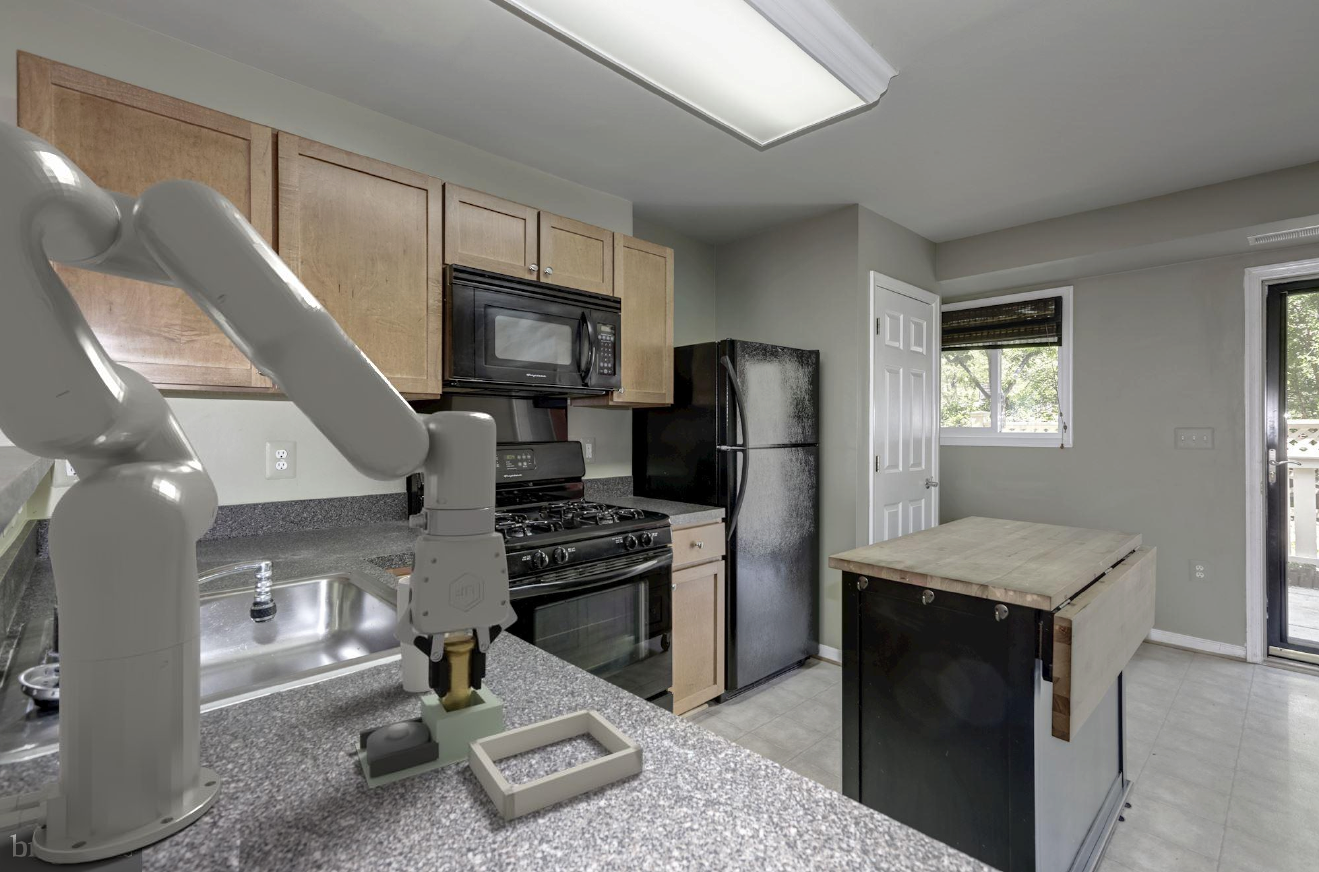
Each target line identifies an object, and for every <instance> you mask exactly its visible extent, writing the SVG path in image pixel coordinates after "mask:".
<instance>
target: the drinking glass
mask: <svg viewBox="0 0 1319 872" xmlns="http://www.w3.org/2000/svg"><path fill="white" fill-rule="evenodd" d="M409 583H410V575H407V576H404V577H401V578H399V579H398V581H397V589H396V590H397V592H396V593H397V594H396V595H397V596H396V601H397V602H396V611H397V623H399V621H400V620H401V618H402V616H403V614H404V612H405V611H406V609H407V607H408V593H409ZM412 631H414V632H417V630H415V628H414V626H413V628H412ZM417 633H419V632H417ZM422 635H423V634H422ZM424 636H425V637H426V636H427V635H424ZM448 636H450V633H445V637H448ZM399 643H400V644H399V646H400V655H401V657H400V658H401V665H402V666H401V668H402V689H403V690H404V691H405V692H408V693H425V692H430V691H434V689H430V687H429V684H428V669H429V657H428V656H427V655H425V654H424V653H423V652H422V651H420V650H419V649H418V648H417V647H415V646H412V645H408V644H406V643H403V642H400V641H399Z"/></svg>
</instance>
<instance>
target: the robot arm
mask: <svg viewBox="0 0 1319 872" xmlns="http://www.w3.org/2000/svg"><path fill="white" fill-rule="evenodd" d="M51 262H53V263H55V264H58V265H59V264H60V265H62V266H63V265H64V266H67V267H70V268H75V269H79V270H84V271H90V272H93V273H99V274H104V275H109V276H114V277H118V278H119V277H120V278H125V279H129V280H135V281H139V282H144V283H150V284H154V285H159V286H163V287H164V286H165V287H169V288H174V289H175V288H176V289H181V290H182V291H183V292H184V293H185V294H186V295H187V296H188V297H189V298H190V299H191V300H192V301H193V302H194V303H195V305H196V306H197V307H198V308H199V309H200V310H201V311H202V312H203V313H204V314H205V315H206V316H207V317H208V318H209V319H210V321H212V323H213V324H214V325H215V326H216V327H217V328H218V329H219V330H220V331H221V332H222V334H223V335H225V337H226V338H227V339H229V341H230V342H231V343H232V344H233V345H234V346H235V347H236V348H237V349H238V350H239V352H240V353H241V354H242V355H243V356H244V357H245V358H246V359H247V360H248V361H249V362H250V363H251V364H252V366H253V367H254V368H255V369H256V370H257V371H259V372H260V373H261V374H262V375H263V376H265V377H266V378H267V379H268V380H270V381H271V383H273V384H274V385H276V386H277V388H278V389H280V391H281V392H282V393H284V394H285V395H286V396H287V398H288V399H289V400H290V401H291V402H292V403H293V404H294V405H295V406H296V407H297V408H298V409H299V411H300V412H301V413H302V414H303V415H304V416H305V417H306V418H307V419H308V420H309V421H310V422H311V423H312V424H313V426H314V427H315V428H317V430H318V431H319V432H320V433H321V434H322V435H323V436H324V437H325V439H327V440H328V442H329V443H331V445H332V446H333V447H334V448H335V449H336V450H337V451H338V452H339V453H340V454H341V456H342V457H344V458H345V460H346V461H347V462H348V463H349V464H350V466H352V467H353V468H354V469H355V470H356V471H357V472H358V473H360V474H361V475H362V476H364V477H366V478H369V479H372V480H373V481H379V482H395V481H399V480H400V481H401V480H403V479H405V478H407V477H409V476H411V475H413V474H418V473H423V476H424V482H423V483H424V484H423V507H422V509H421V511H420V513H417V514H411V515H409V519H408V523H409V528H417V529H420V530H421V532H422V533H423V534H422V535H419V536H417V538H416V540H415V541H416V542H415V546H414V550H413V556H412V562H411V567H410V575H409V576H410V583H409V593H408V607H407V609H406V611H405V612H404V614H403V616H402V618H401V620H400V621H399V623H398V622H397V623H398V624H397V625H396V627H395V629H394V631H393V638H395V640H396V641H398V642H399V643H400V642H403V643H406V644H408V645H412V646H415V647H417V648H418V649H419V650H420V651H422V652H423V653H424V654H425V655H427V656H428V657H429V669H428V684H429V687H430V689H434V690H433V691H434V694H437V695H438V697H439V698H443V697H445V696H446V695H447V660H446V659H445V658H444V653H443V647H444V639H445V633H449V634H451V633H457V632H462V631H469V630H471V631H470V632H471V633H470V635H472V636H474V637H476V647H475V648H474V649H472V684H471V687H472V688H473V689H475V690H480V689H481V684H482V683H483V682H482V679H484V678H486V673H487V672H486V671H487V670H486V669H487V664H486V662H487V652H489V650H490V649H491V645H492V644H493V643H494V642H495V640H496V639H497V638H498V637H499V635H500V634H501V633H502V631H504V630H506V629H507V628H509V627H510V626H512V625H513V624H515V622H517V620H518V615H517V614H516V612H515V610H514V608H513V607H512V605H511V603H510V586H509V582H510V581H509V571H508V561H507V554H506V545H505V541H504V536H503V534H502V533H501V532H498V531H495V526H496V476H497V475H496V473H497V472H496V470H497V469H496V468H497V463H496V462H497V425H496V421H495V419H494V417H493V416H491V415H490V414H488V413H485V412H480V411H465V410H464V411H462V410H461V411H460V410H456V411H455V410H452V411H451V410H450V411H449V410H447V411H446V410H444V411H437V412H433V413H432V414H428V413H417V412H416V410H414V408H413V407H412V406H411V405H410V404H409V402H408V401H407V400H406V399H405V398H404V397H403V396H402V395H401V393H400V392H399V391H398V390H397V389H396V388H395V386H393V384H392V383H391V382H390V381H389V380H388V378H387V377H386V376H385V375H384V374H383V373H382V372H381V371H380V370H379V368H377V366H376V365H375V364H374V363H373V362H372V360H370V358H368V357H367V355H366V354H365V353H364V352H363V351H362V350H361V349H360V347H358V345H357V344H356V343H355V342H354V341H353V340H352V339H351V338H350V337H349V336H348V334H346V332H345V331H344V329H342V327H341V325H339V323H338V322H337V320H335V318H334V317H333V316H332V314H330V313H329V312H328V311H327V309H326V308H325V307H324V306H323V304H321V302H320V301H319V299H317V298H316V297H315V296H314V294H312V293H311V291H310V290H309V289H308V288H307V287H306V286H305V285H304V284H303V282H302V281H301V280H300V279H299V277H298V276H296V274H295V273H294V272H293V271H292V269H290V267H289V266H288V265H287V264H286V263H285V262H284V260H283V259H282V258H281V257H280V256H279V255H278V253H276V251H275V250H274V249H273V248H272V247H271V245H269V243H268V242H267V241H266V240H265V239H264V238H263V237H262V235H261V234H260V233H259V231H257V230H256V229H255V227H254V226H253V225H252V224H251V223H250V222H249V221H248V219H247V218H246V217H245V216H244V215H243V213H241V211H240V210H239V209H238V208H237V206H235V205H234V204H233V203H232V202H230V200H229V199H228V198H226V196H224V195H222V194H221V193H220V192H218V191H217V190H216V189H214V188H212V187H210V186H209V185H206V184H204V183H201V182H198V181H195V180H190V179H185V178H184V179H183V178H182V179H181V178H180V179H179V178H175V179H166V180H161V181H159V182H156V183H154V184H151V185H150V186H149V187H147V188H146V189H145V190H143V191H142V192H141V193H140V195H139V196H134V195H131V194H126V193H123V192H118V191H114V190H112V189H111V190H110V189H108V188H105V187H100V186H98V185H97V184H96V183H95V182H94V181H93V180H92V179H91V178H90V177H89V176H88V175H86V173H85V172H84V171H82V169H80V168H79V167H78V165H76V164H75V162H73V160H71V159H70V158H69V157H68V156H67V155H66V154H64V153H63V152H61V151H60V150H59V149H57V147H55V146H54V145H53V144H52V143H50V142H48V141H47V140H45V139H43V138H41V137H40V136H37V135H36V134H34V133H32V132H30V131H28V130H26V129H25V128H22V127H20V126H17V125H15V124H12V123H9V122H6V121H2V120H0V431H1V432H2V433H3V434H4V436H5V437H6V438H7V439H8V440H9V441H10V442H12V444H14V446H16V447H17V448H18V449H21V450H23V451H24V452H26V453H29V454H31V455H33V456H37V457H40V458H44V459H51V460H61V461H62V460H65V461H67V462H68V464H69V465H70V467H72V468H71V469H73V472H74V473H75V474H76V476H77V478H78V479H79V480H77V481H76V482H75V483H74V484H73V485H71V486H70V487H69V488H68V489H67V490H66V491H65V492H64V494H63V495H62V496H61V497H60V498H59V500H58V502H57V503H56V504H55V506H54V509H53V512H52V513H51V516H50V520H49V524H48V531H47V536H48V538H47V539H48V540H47V542H48V546H47V547H48V551H49V553H48V554H49V559H50V562H51V569H52V574H53V579H54V586H55V590H56V591H55V592H56V600H57V618H58V658H59V660H58V662H59V663H58V665H59V666H58V667H59V668H58V670H59V671H58V672H59V673H58V674H59V675H58V682H59V683H58V684H59V685H58V689H59V690H58V693H59V696H58V706H59V707H58V709H59V711H58V719H59V720H58V723H59V724H58V725H59V726H58V733H59V734H58V735H59V736H58V778H57V780H56V781H53V782H50V783H44V785H43V786H42V788H41V789H38V790H34V791H30V792H26V793H16V794H12V795H8V796H7V795H6V796H3V797H0V834H3V833H6V832H7V833H8V832H10V831H14V830H18V829H21V828H23V827H27V826H31V825H35V824H37V827H36V828H35V830H34V831H33V834H32V841H31V842H32V853H33V854H34V855H35V856H36V858H38V859H41V860H43V861H44V862H48V863H54V864H55V863H56V864H79V863H87V862H94V861H99V860H103V859H108V858H113V857H115V856H116V857H117V856H119V855H123V854H126V853H130V852H132V851H135V850H138V849H140V848H143V847H146V846H149V845H151V844H154V843H156V842H158V841H160V840H162V839H165V838H168V837H169V836H171V835H173V834H175V833H177V832H179V831H180V830H182V829H184V828H185V827H187V826H188V825H190V824H192V823H194V822H195V821H197V819H199V818H201V817H202V816H203V815H204V814H206V813H207V812H208V811H209V809H210V808H212V806H213V805H215V803H216V802H217V800H218V799H219V797H220V795H221V790H222V786H221V785H222V784H221V777H220V775H219V774H218V772H216V771H215V770H213V769H211V768H208V767H204V766H201V597H200V583H199V573H198V564H197V562H198V561H197V542H198V541H199V540H200V539H201V538H203V537H204V536H205V534H207V532H208V531H209V530H210V529H211V527H213V524H214V522H215V520H216V518H217V515H218V511H219V498H218V493H217V492H218V491H217V489H216V487H215V485H214V482H213V480H212V478H211V477H210V475H209V473H208V471H207V469H206V467H205V466H204V463H202V460H201V459H200V457H199V455H198V454H197V452H196V450H195V448H194V446H193V445H192V443H191V441H190V439H189V438H188V436H187V434H186V433H185V431H184V430H183V427H182V425H181V424H180V422H179V420H178V418H177V417H176V415H175V414H174V412H173V410H172V408H171V407H170V405H169V403H168V402H167V400H166V398H165V397H164V395H162V394H161V391H160V390H159V389H158V388H157V387H156V385H154V384H153V383H152V382H151V381H150V380H149V379H147V378H146V377H145V376H144V375H143V374H141V373H139V372H137V371H136V370H134V369H132V368H129V367H127V366H125V365H122V364H120V363H117V362H116V361H114V360H113V359H112V358H111V357H110V355H109V354H108V353H107V351H106V350H105V348H104V347H103V345H102V344H101V342H100V341H99V339H98V338H97V336H96V334H95V333H94V331H93V330H92V328H91V327H90V325H89V323H88V322H87V320H86V317H85V316H84V313H83V312H82V310H81V308H80V306H79V304H78V302H77V301H76V299H75V298H74V295H72V293H71V291H70V290H69V288H68V287H67V286H66V284H65V282H64V281H63V279H62V278H61V277H60V276H59V274H58V273H57V271H56V270H55V269H54V267H53V266H52V264H51ZM413 626H414V628H415V630H417V632H419V633H417V632H414V631H412V628H413ZM422 634H423V635H422ZM424 635H427V636H426V637H425V636H424Z"/></svg>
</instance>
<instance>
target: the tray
mask: <svg viewBox="0 0 1319 872" xmlns="http://www.w3.org/2000/svg"><path fill="white" fill-rule="evenodd" d="M586 733H589V735H591V736H592V737H594V739H596V740H597V741H598V742H599V743H600V744H601V745H603V746H604V747H605V748H606V749H607V750H608V751H609V752H610V753H611V754H608V755H605V756H602V757H600V758H596V759H593V760H590V761H587V762H584V763H581V764H579V765H576V766H573V767H569V768H566V769H563V770H561V771H558V772H555V773H551V774H549V775H546V776H543V777H540V778H538V779H534V780H530V781H528V782H525V783H521V784H518V785H516V786H512V787H511V785H510V784H509V783H508V782H507V780H506V779H505V777H504V776H503V775H502V773H501V772H500V770H499V769H498V768H497V766H496V765H495V764H494V762H495V761H498V760H502V759H504V758H508V757H512V756H514V755H517V754H520V753H524V752H528V751H531V750H534V749H538V748H541V747H544V746H547V745H550V744H553V743H554V744H555V743H557V742H560V741H563V740H567V739H569V738H574V737H576V736H580V735H583V734H586ZM643 753H644V752H643V748H642V747H641V746H640V745H639V744H638V743H636V742H635V741H634V740H633V739H632V738H631V737H629V736H628V735H626V734H625V733H624V732H623V731H622V730H620V729H619V728H618V727H617V726H615V725H614V724H613V723H611V722H610V721H609V720H607V719H606V718H605V717H604V716H603V715H601V714H600V713H599V712H597V711H596V709H594V708H593V707H588V708H586V709H581V710H578V711H575V712H572V713H568V714H564V715H561V716H556V717H554V718H550V719H545V720H543V721H539V722H536V723H535V722H534V723H531V724H529V725H525V726H521V727H517V728H513V729H511V730H507V731H503V733H499V734H496V735H492V736H489V737H485V738H482V739H478V740H474V741H471V742H468V759H467V761H468V762H467V763H468V766H469V768H470V769H471V771H472V772H473V774H474V775H475V777H476V778H477V780H478V782H479V783H480V784H481V787H483V789H484V790H485V793H486V794H487V795H488V797H489V798H490V800H491V801H492V803H493V804H494V806H495V808H496V809H497V810H498V812H499V813H500V816H501V817H502V818H503V820H504V821H505V822H508V821H511V820H515V819H516V818H519V817H522V816H524V815H527V814H530V813H533V812H535V811H538V810H540V809H544V808H546V807H548V806H552V805H554V804H557V803H560V802H562V801H565V800H569V799H570V798H573V797H576V796H579V795H582V794H584V793H587V792H590V791H593V790H596V789H599V788H601V787H604V786H606V785H609V784H611V783H614V782H617V781H620V780H623V779H625V778H628V777H631V776H633V775H636V774H639V773H642V772H643V771H644V767H643V764H644V763H643V759H644V758H643V755H644V754H643Z"/></svg>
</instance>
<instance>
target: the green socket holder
mask: <svg viewBox="0 0 1319 872" xmlns="http://www.w3.org/2000/svg"><path fill="white" fill-rule="evenodd" d="M503 732H504V704H503V703H502V701H500V700H499V698H498V697H497V696H496V695H495V694H494V693H493V692H492V691H491V690H490V689H489V688H488V687H487V685H486V684H484V682H482V684H481V689H480V690H475V689H473V688H472V687H471V707H468V708H464V709H460V710H456V711H452V712H448V713H447V712H446V711H445V709H444V708H443V698H439V697H438V695H437V694H436V693H434V694H428V695H425V696H421V697H420V716H418V717H417V716H416V717H413V718H408V719H406V720H405V719H404V720H401V721H397V722H394V723H390V724H389V723H388V724H385V725H380V726H377V727H373V728H369V729H365V730H361V731H359V742H357V743H354V745H355V749H356V751H357V756H358V757H359V762H360V765H361V768H362V770H363V774H364V777H365V779H366V783H367V785H368V789H372V788H376V787H378V786H379V787H380V786H383V785H386V784H390V783H393V782H397V781H400V780H403V779H406V778H410V777H413V776H417V775H420V774H423V773H427V772H430V771H434V770H437V769H441V768H443V767H447V766H450V765H454V764H456V763H460V762H464V761H468V742H471V741H474V740H478V739H482V738H485V737H489V736H492V735H496V734H499V733H503Z"/></svg>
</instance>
